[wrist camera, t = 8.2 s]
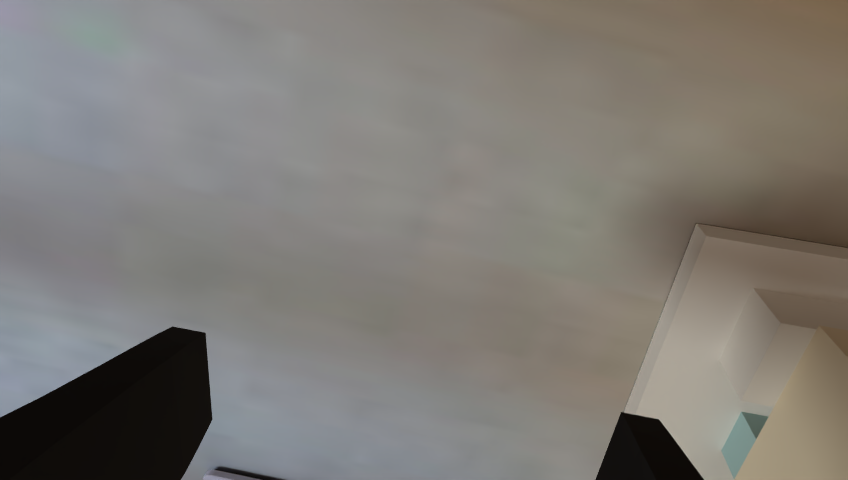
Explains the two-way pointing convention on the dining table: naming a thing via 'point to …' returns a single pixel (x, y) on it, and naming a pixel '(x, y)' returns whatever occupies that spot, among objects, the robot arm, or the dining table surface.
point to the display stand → (735, 339)
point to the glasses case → (807, 418)
